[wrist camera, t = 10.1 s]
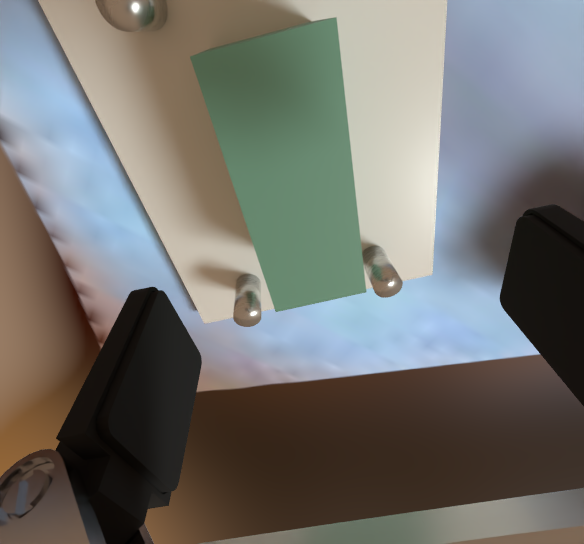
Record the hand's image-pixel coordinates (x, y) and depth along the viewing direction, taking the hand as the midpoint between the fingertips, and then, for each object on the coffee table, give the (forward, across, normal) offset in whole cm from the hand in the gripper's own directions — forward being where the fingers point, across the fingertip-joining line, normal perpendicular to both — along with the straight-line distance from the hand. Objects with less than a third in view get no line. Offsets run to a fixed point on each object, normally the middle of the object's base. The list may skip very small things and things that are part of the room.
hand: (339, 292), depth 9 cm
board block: (+12, +1, 0) cm, 13 cm away
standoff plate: (+14, +1, 0) cm, 14 cm away
